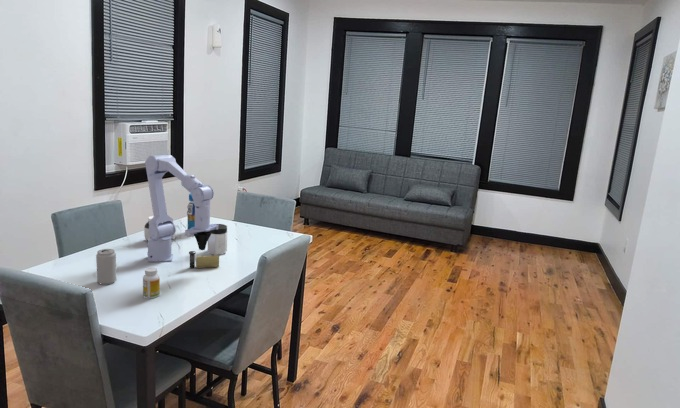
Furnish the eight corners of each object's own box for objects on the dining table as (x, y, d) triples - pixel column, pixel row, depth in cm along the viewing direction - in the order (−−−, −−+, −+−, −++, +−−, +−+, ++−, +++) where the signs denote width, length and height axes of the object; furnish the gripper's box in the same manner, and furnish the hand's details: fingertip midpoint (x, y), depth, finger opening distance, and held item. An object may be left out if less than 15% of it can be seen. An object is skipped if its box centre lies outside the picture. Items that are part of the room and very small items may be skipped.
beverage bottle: (186, 230, 246) (187, 192, 242) (204, 230, 249) (204, 192, 244) (187, 235, 238) (187, 195, 234) (204, 235, 241) (205, 196, 237)
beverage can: (111, 277, 182) (110, 247, 179) (119, 282, 178) (118, 251, 175) (94, 281, 177) (92, 250, 174) (102, 286, 173) (101, 255, 170)
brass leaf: (196, 268, 196) (196, 257, 195) (196, 267, 197) (196, 256, 196) (219, 266, 200) (219, 255, 199) (218, 265, 201) (218, 254, 200)
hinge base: (188, 268, 196) (188, 253, 194) (188, 266, 199) (188, 250, 197) (218, 267, 199) (219, 252, 198) (218, 265, 202) (218, 250, 201)
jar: (210, 255, 213) (211, 229, 210) (204, 250, 219) (205, 224, 217) (230, 253, 218) (230, 227, 215) (223, 247, 224) (224, 223, 221)
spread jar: (141, 241, 224) (141, 217, 222) (158, 235, 235) (157, 212, 232) (163, 246, 221) (163, 221, 218) (178, 239, 231) (178, 216, 229)
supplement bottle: (161, 292, 172) (161, 267, 170) (156, 299, 167) (156, 272, 164) (146, 291, 172) (146, 266, 169) (140, 298, 166) (140, 271, 164)
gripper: (193, 221, 181) (192, 256, 184) (223, 215, 193) (222, 248, 196) (181, 217, 185) (181, 251, 188) (212, 212, 197) (211, 243, 200)
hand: (201, 249), depth 192 cm, fingers closed
